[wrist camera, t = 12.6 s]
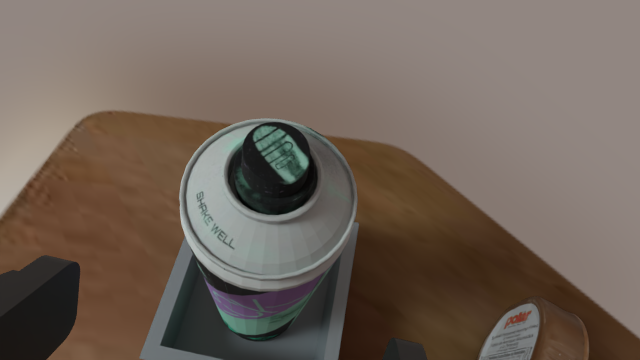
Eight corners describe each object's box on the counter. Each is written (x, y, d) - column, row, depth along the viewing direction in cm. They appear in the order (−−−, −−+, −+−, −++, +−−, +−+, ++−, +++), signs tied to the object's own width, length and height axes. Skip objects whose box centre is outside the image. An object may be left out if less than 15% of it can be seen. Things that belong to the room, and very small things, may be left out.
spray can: (236, 250, 29) (213, 38, 11) (309, 274, 29) (401, 99, 11) (206, 328, 26) (111, 211, 8) (285, 353, 26) (357, 291, 8)
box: (343, 245, 31) (359, 223, 27) (318, 397, 26) (331, 400, 22) (210, 214, 31) (204, 185, 26) (158, 362, 26) (139, 358, 21)
